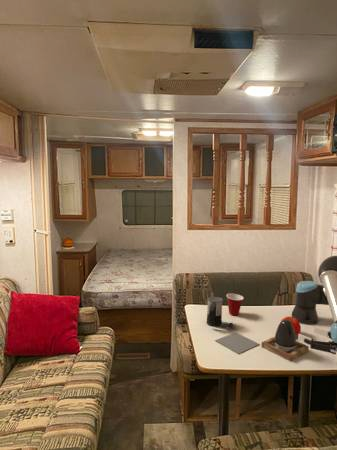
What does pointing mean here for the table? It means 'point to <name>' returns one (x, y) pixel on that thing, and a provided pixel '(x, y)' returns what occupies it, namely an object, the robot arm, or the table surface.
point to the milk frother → (215, 312)
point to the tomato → (294, 324)
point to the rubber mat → (237, 343)
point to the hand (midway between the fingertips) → (306, 332)
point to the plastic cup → (234, 303)
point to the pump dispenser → (285, 336)
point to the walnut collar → (289, 357)
